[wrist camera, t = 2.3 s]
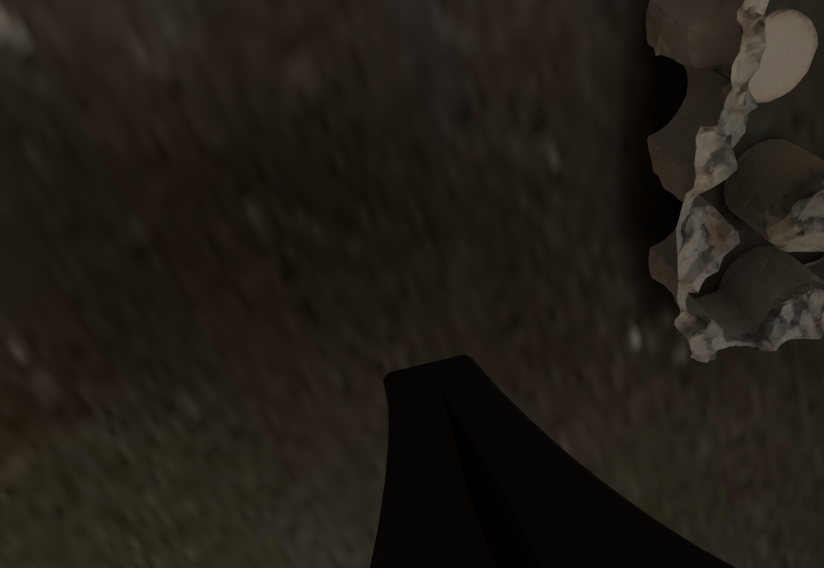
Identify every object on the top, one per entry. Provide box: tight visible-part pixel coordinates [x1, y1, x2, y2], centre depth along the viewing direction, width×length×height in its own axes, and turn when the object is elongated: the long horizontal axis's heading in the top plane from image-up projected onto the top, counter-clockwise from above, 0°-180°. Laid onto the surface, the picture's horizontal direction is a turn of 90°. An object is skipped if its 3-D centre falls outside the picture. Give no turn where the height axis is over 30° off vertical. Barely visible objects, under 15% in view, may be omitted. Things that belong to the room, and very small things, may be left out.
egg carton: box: [646, 0, 824, 363], centre depth 18 cm, size 11×8×4 cm
